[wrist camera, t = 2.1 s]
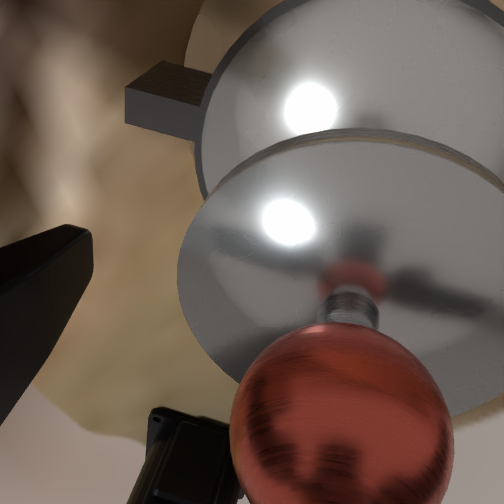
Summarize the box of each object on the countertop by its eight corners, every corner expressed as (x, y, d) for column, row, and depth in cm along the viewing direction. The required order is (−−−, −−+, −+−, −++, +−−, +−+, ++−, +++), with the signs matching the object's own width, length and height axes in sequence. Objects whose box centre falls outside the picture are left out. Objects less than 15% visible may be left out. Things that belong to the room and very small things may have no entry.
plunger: (447, 434, 10) (475, 696, 7) (176, 351, 10) (77, 559, 7) (640, 193, 6) (914, 511, 3) (208, 80, 7) (35, 250, 3)
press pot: (469, 307, 18) (486, 389, 15) (161, 219, 19) (118, 279, 16) (710, -61, 11) (837, -46, 8) (188, -176, 12) (118, -202, 9)
